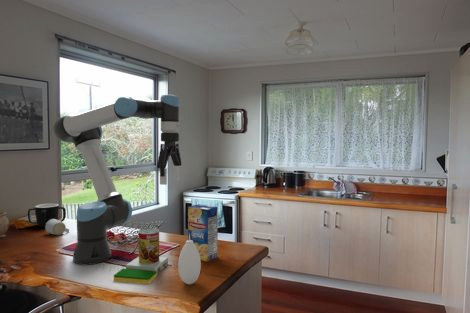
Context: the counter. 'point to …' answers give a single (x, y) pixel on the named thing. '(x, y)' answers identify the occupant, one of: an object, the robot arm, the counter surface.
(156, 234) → the canned food
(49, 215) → the mug
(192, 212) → the beverage box
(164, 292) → the counter surface
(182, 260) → the sauce bottle
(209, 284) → the counter surface
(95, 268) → the counter surface
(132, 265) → the block
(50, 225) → the ceramic mug
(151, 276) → the dish sponge
